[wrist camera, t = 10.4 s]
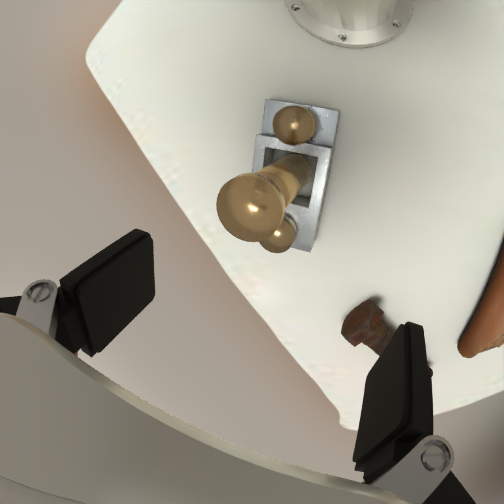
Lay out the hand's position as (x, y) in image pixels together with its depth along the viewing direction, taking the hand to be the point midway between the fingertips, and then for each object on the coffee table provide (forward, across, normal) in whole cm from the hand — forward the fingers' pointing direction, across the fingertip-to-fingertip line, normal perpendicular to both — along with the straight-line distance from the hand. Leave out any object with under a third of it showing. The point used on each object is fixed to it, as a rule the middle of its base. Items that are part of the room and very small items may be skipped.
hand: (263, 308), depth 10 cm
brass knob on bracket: (+22, +4, +1) cm, 22 cm away
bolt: (+22, -14, +18) cm, 32 cm away
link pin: (+22, +4, +1) cm, 22 cm away
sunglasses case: (+22, -25, +6) cm, 34 cm away
